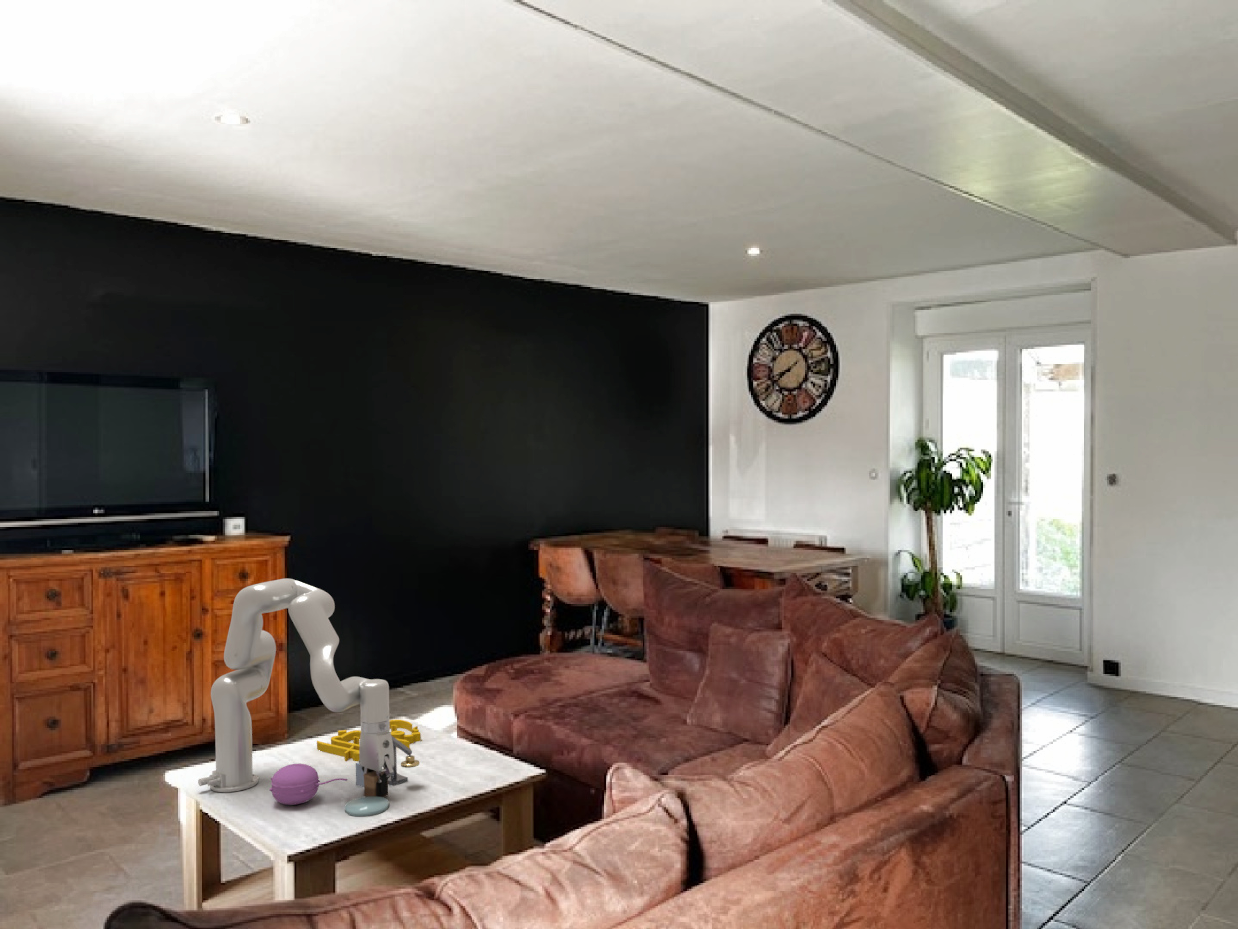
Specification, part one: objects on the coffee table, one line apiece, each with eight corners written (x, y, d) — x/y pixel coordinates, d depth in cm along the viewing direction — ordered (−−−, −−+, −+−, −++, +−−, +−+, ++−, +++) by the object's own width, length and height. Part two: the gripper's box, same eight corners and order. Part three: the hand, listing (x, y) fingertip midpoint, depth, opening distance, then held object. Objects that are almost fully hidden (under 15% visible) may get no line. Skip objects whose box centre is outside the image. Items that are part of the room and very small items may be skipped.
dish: (360, 820, 235) (360, 815, 235) (336, 809, 242) (336, 805, 242) (397, 807, 243) (397, 802, 243) (372, 797, 251) (372, 793, 251)
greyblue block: (365, 788, 258) (364, 766, 258) (355, 784, 261) (355, 763, 261) (379, 783, 262) (378, 762, 262) (369, 780, 265) (369, 759, 265)
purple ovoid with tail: (287, 793, 255) (286, 757, 255) (349, 797, 251) (349, 760, 251) (261, 809, 243) (261, 771, 243) (326, 814, 239) (326, 775, 239)
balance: (408, 791, 255) (407, 740, 255) (365, 776, 268) (364, 727, 268) (423, 786, 259) (422, 736, 259) (380, 771, 272) (379, 723, 272)
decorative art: (387, 716, 323) (446, 730, 304) (387, 724, 323) (447, 739, 304) (301, 740, 296) (361, 757, 277) (302, 749, 296) (361, 767, 277)
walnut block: (374, 800, 249) (373, 777, 249) (364, 796, 252) (364, 774, 252) (388, 795, 252) (387, 773, 252) (378, 791, 255) (378, 770, 255)
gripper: (405, 728, 249) (406, 797, 249) (368, 718, 260) (370, 783, 260) (381, 735, 244) (383, 805, 244) (345, 724, 255) (346, 791, 255)
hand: (376, 793), depth 252 cm, fingers closed on walnut block, 4 cm apart
